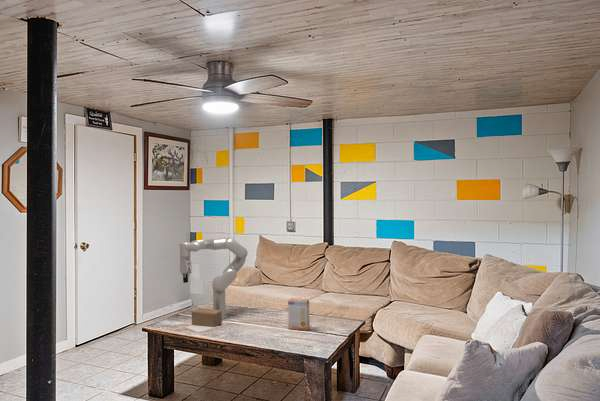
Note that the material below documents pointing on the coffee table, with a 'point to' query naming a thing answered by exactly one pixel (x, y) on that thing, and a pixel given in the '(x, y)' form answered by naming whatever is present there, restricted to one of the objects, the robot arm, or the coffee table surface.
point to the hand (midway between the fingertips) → (185, 282)
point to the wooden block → (206, 317)
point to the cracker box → (298, 314)
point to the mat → (200, 328)
